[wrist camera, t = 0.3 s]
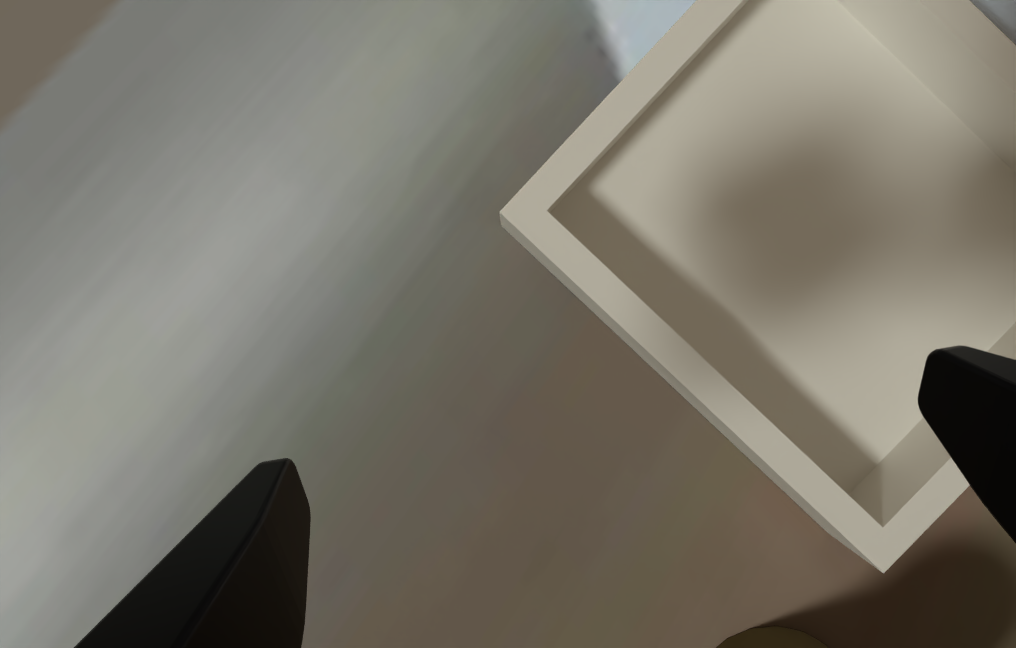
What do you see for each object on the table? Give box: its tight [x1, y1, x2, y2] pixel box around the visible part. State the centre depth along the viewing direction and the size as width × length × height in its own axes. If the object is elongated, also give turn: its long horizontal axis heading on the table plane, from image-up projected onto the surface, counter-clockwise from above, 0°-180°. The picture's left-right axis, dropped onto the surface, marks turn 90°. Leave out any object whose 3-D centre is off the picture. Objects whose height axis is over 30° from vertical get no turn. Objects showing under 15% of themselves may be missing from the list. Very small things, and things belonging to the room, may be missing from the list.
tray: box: [500, 0, 1016, 573], centre depth 21 cm, size 16×14×4 cm
